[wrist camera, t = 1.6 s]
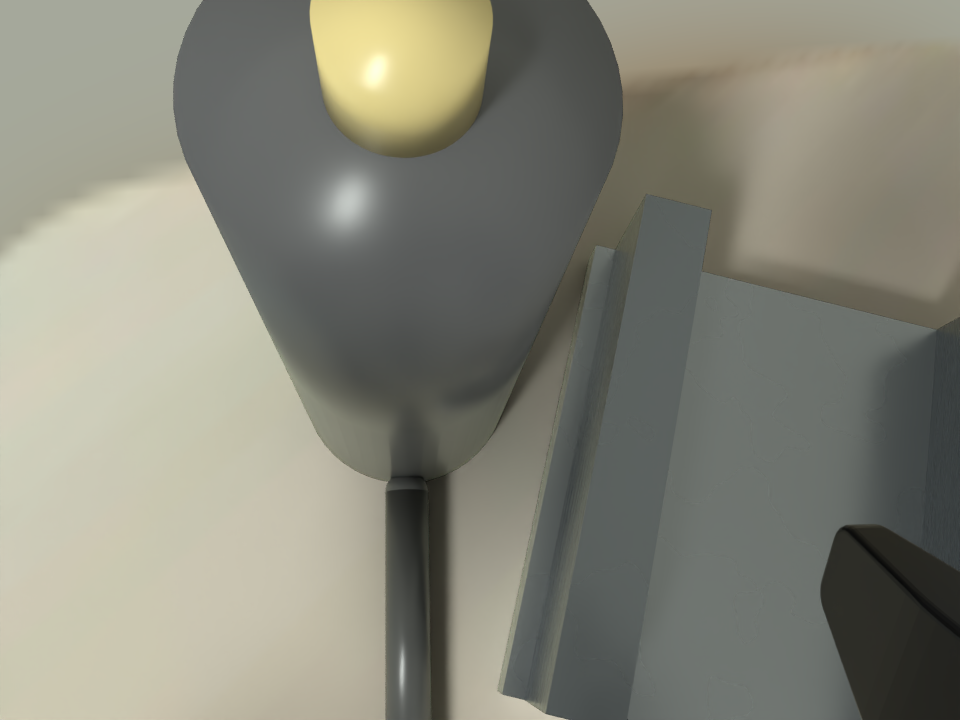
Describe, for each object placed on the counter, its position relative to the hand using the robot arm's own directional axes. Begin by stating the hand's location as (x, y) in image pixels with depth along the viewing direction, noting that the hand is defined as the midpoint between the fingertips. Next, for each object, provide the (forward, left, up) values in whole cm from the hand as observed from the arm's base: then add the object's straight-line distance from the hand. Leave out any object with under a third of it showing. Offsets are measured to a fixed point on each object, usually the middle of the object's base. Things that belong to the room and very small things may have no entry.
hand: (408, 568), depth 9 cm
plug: (+2, 0, -12) cm, 12 cm away
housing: (+1, -9, -12) cm, 15 cm away
